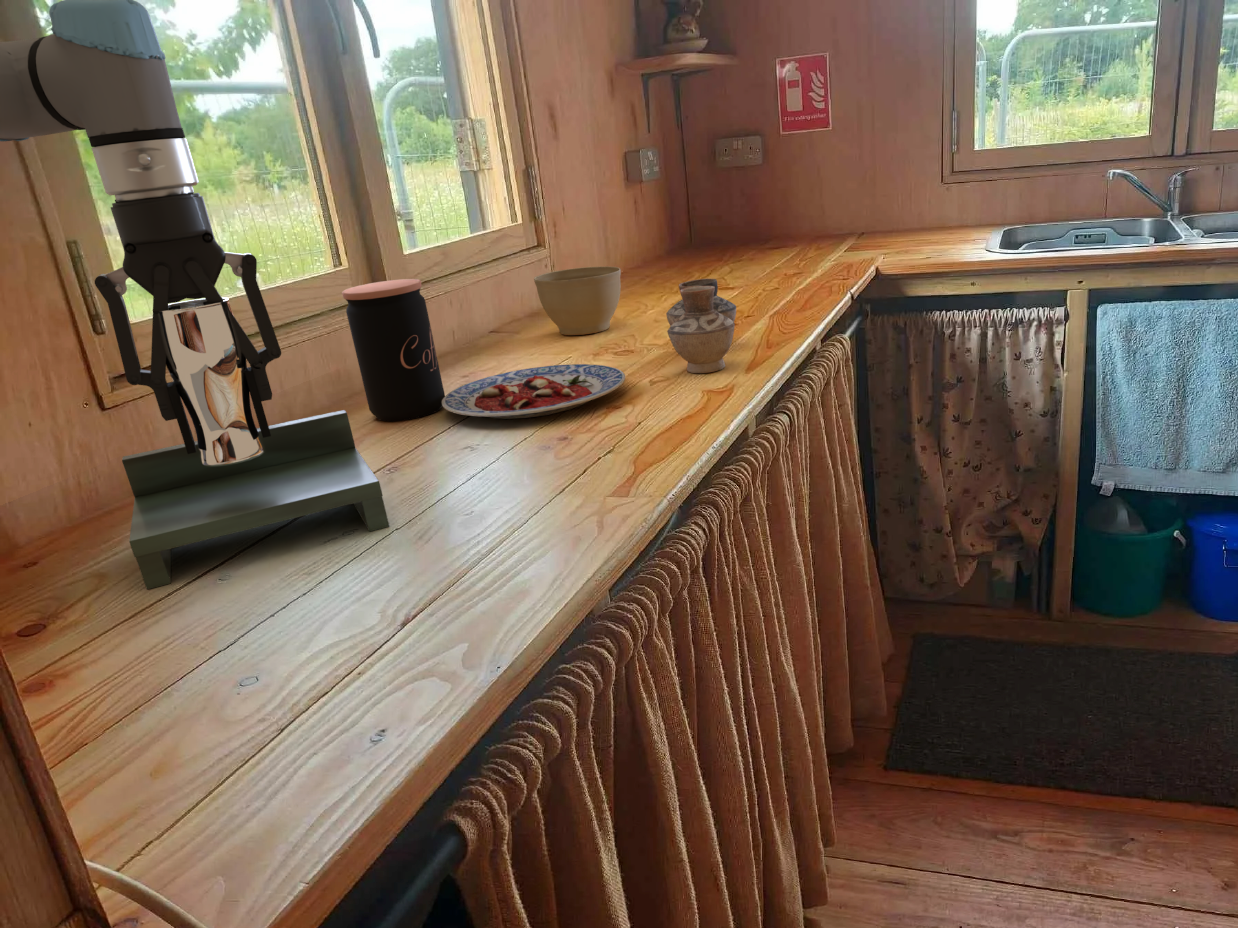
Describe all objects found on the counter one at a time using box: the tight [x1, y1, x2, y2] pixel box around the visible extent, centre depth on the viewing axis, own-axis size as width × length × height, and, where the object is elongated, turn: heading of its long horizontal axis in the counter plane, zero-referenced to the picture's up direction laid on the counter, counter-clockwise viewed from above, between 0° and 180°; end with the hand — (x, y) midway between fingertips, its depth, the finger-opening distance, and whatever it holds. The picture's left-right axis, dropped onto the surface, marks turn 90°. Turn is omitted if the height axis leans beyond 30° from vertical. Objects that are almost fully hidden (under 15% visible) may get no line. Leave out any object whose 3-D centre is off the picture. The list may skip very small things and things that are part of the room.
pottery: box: [666, 278, 737, 374], centre depth 149 cm, size 11×25×12 cm, turn 0°
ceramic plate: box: [442, 363, 626, 420], centre depth 137 cm, size 26×26×3 cm
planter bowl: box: [533, 265, 622, 336], centre depth 182 cm, size 16×16×11 cm
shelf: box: [121, 409, 390, 590], centre depth 97 cm, size 16×22×9 cm
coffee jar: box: [341, 278, 446, 422], centre depth 137 cm, size 11×11×18 cm
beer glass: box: [151, 297, 266, 467], centre depth 93 cm, size 7×7×15 cm
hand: (229, 441), depth 95 cm, fingers closed on beer glass, 6 cm apart
